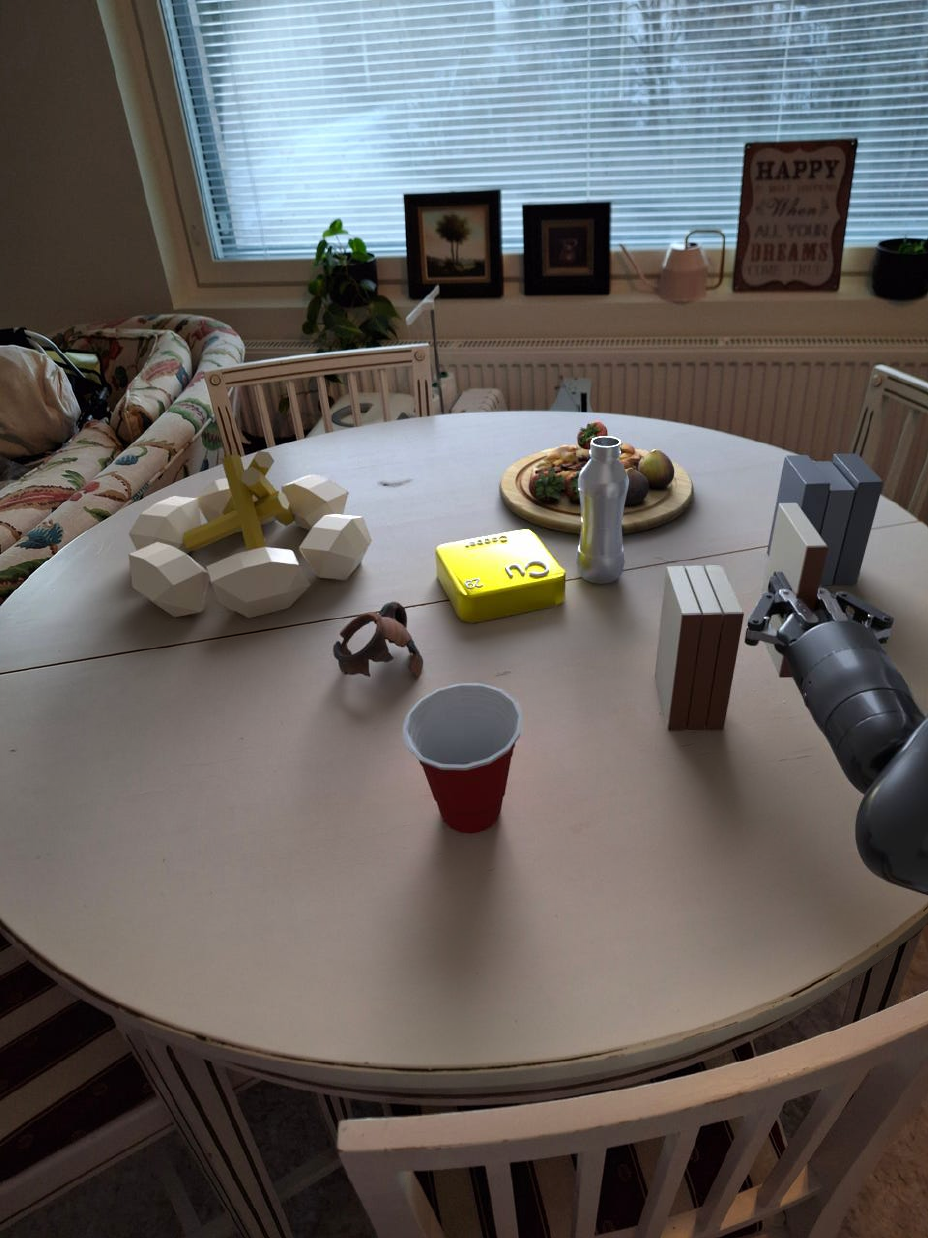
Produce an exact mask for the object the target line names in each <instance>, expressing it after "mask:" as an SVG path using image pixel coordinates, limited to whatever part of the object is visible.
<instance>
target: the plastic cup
mask: <svg viewBox="0 0 928 1238" xmlns="http://www.w3.org/2000/svg"><path fill="white" fill-rule="evenodd" d="M521 710H522V709H521V708H520V706H519V704H518V702H517V700H516V699H515V698H513V696H511V695H510V694H508V693H507V692H506V691H505V690H503V689H502V688H498V687H496V686H492V685H489V684H485V683H483V682H481V683H479V682H478V683H476V682H471V683H469V682H467V683H466V682H463V683H462V682H459V683H455V684H452V685H451V684H450V685H447V686H443V687H440V688H436V689H435V690H433V691H432V692H430V693H428V694H426V695H425V696H423V697H421V698H420V699H419V700H418V701H417V702H416V703H415V704H414V705H413V706H412V708H411V709H409V711H408V712H407V713H406V715H405V719H404V722H403V726H402V728H401V732H402V735H403V736H402V737H403V739H404V743H405V747H406V748H407V749H408V751H410V752H411V754H412V755H413V756H414V757H415V758H416V759H417V760H418V762H419V764H420V765H421V767H422V769H423V772H424V774H425V777H426V780H427V784H428V786H429V788H430V791H431V794H432V797H433V799H434V801H435V802H436V805H437V808H438V811H439V814H440V817H441V819H442V820H443V822H444V823H445V825H446V826H447V827H448V828H449V829H450V830H453V831H455V832H457V833H460V834H465V835H467V834H468V835H474V834H478V833H483V832H485V831H487V830H489V829H490V828H492V827H494V825H495V823H496V822H497V820H498V819H499V818H500V815H501V811H502V806H503V800H504V797H505V795H506V790H507V785H508V779H509V773H510V767H511V762H512V757H513V755H514V750H515V747H516V742H517V741H518V740H519V738H520V736H521V732H522V724H523V718H524V715H523V712H522V711H521Z"/></svg>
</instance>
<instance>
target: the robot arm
mask: <svg viewBox="0 0 928 1238" xmlns="http://www.w3.org/2000/svg"><path fill="white" fill-rule="evenodd" d="M767 591H768V593H763V594H762V593H761V596H760V598H759V600H758V601H757V603H756V605H755V607H754V609H753V610H752V612H751V614H750V616H749V617H748V620H747V624H746V630H745V636H744V642H743V643H744V644H745V645H747V646H748V647H749V646H750V647H756V646H758V644H759V643H760V642H763V643H764V642H767V643H770V644H774V647H775V649H776V651H777V652H779V653H780V654H782V655H783V656H784V657H785V658H786V660H787V664H788V667H789V670H790V673H791V675H792V679H793V682H794V683H795V685H796V687H797V689H798V692H799V694H800V695H801V697H802V699H803V703H804V706H805V707H806V708H807V709H808V712H809V714H810V716H811V717H812V720H813V721H814V723H815V725H816V726H817V728H818V729H819V731H820V732H821V733H822V734H823V736H824V737H825V739H826V740H827V742H828V744H829V746H830V748H831V751H832V752H833V754H834V756H835V758H836V760H837V763H838V764H839V767H840V769H841V770H842V772H843V775H844V776H845V777H846V779H847V781H849V783H850V784H851V785H852V786H853V788H855V790H857V791H858V792H859V793H861V794H862V795H863V797H862V799H861V801H860V803H859V807H858V809H857V812H856V818H855V823H854V837H855V844H856V849H857V852H858V854H859V857H860V860H861V861H862V863H863V864H864V865H865V867H866V868H867V869H868V870H869V871H870V873H872V874H873V875H875V876H876V877H877V878H879V879H881V880H883V881H885V882H888V883H889V884H892V885H895V886H897V887H899V888H903V889H907V890H910V891H912V892H916V893H918V894H921V895H925V896H928V715H927V716H926V714H924V712H923V710H922V709H921V707H920V706H919V705H918V703H917V701H916V700H915V698H914V696H913V693H912V691H911V689H910V687H909V684H908V683H907V681H906V679H905V677H904V676H903V675H902V673H901V672H900V670H899V669H898V667H897V666H896V664H895V663H894V661H893V660H892V658H891V657H890V656H889V654H888V653H887V651H886V649H885V648H884V646H883V645H885V644H887V643H889V639H890V635H891V632H892V628H893V625H894V621H895V618H894V617H893V616H892V615H890V614H888V613H886V612H884V611H882V610H881V609H879V608H877V607H875V606H873V605H871V604H870V603H869V602H866V601H865V600H862V599H861V598H858V597H857V596H855V595H853V594H851V593H850V592H848V591H845V590H840V591H837V592H836V594H833V593H830V591H829V590H828V589H827V588H824V587H823V585H820V586H819V590H818V595H817V599H816V603H815V608H814V611H810V610H809V608H808V607H807V606H806V604H805V603H804V602H803V600H802V599H797V598H796V596H795V595H794V593H793V592H792V588H791V586H790V584H789V582H788V581H787V579H786V577H785V576H784V574H783V572H782V571H775V572H774V574H773V576H770V579H769V585H768V590H767ZM848 608H851V609H852V610H853V614H852V613H850V612H848ZM772 615H777V616H778V618H779V620H780V621H781V623H782V626H781V627H780V628H779V629H778V631H776V630H774V629H773V627H772V626H773V625H772V623H770V620H771V617H772Z"/></svg>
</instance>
